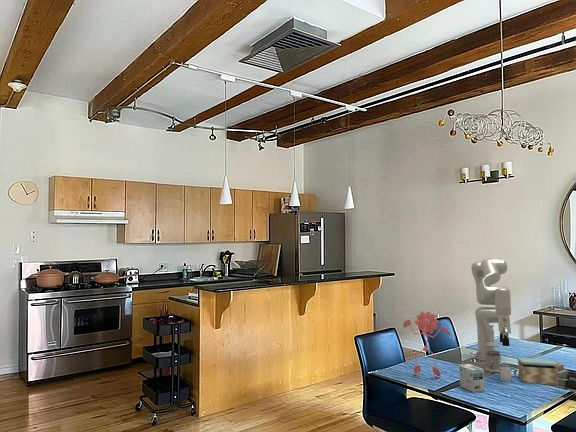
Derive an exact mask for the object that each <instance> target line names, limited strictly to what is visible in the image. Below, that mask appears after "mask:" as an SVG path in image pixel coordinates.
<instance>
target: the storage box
mask: <svg viewBox="0 0 576 432" xmlns="http://www.w3.org/2000/svg"><path fill="white" fill-rule="evenodd" d="M517 368H518V376H519V378H520V380H521V381H522V383H524V384H526V383H527V384H538V385H552V386H559V374H558V369H557V368H556V367H555V366H546V365H531V364H522V363H521V362H520V361H519V360H518V359H517Z"/></svg>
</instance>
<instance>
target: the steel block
mask: <svg viewBox="0 0 576 432" xmlns="http://www.w3.org/2000/svg"><path fill="white" fill-rule="evenodd" d="M499 371H500V372H499V379H500V381H501V382H502V381H503V382H512V369H511V367H509V366H501V367H499Z"/></svg>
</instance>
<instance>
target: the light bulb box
mask: <svg viewBox="0 0 576 432" xmlns="http://www.w3.org/2000/svg"><path fill="white" fill-rule="evenodd" d="M458 367H459V386H460V387H462V388H463V389H466V390H468V391H470V392H472V393H479V392H484V391H486V390H485V369H484V368H482V367H478V366H475V365H474V364H472V363H466V364H459V366H458Z"/></svg>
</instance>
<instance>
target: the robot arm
mask: <svg viewBox="0 0 576 432" xmlns="http://www.w3.org/2000/svg"><path fill="white" fill-rule="evenodd" d="M507 271H508V263H507V261H506V260H505V259H503V258H485V259H483V260H481V261H476V262H473V263H472V264H471V273H472V276H473V279H474V282H475V293H476V295H475V296H476V301H477V303H478V304H479V305H483V306H480V307H479V306H478V307H477V308H476V309H475V311H474V315H475V322H476V329H477V330H476V331H477V333H476V334H477V335H476V336H477V350H475V351H473V350H470V351H469V353H470V355H474V356H475V358H476V359H477V360H480V361H484V362H486V361H487V360H486V353H487V352H486V351H488V349H489V350H491V349H492V351H496V350H495V347H488V346H486V345H485V344H486V343H488V342H495V331H494V327H490V326H491V325H490V324H495V323H496V324H497V325H498V331H499V342H500V343H501V344H502V346H503V347H510V337H509V335H511V334H512V329H511V319H510V316H511V315H512V305H511V302H512V301H511V290H510V289H509V288H508V287H506V286H498V285H497V286H496V285H495V284H497V283H499V282H500V280H501V276H502V275H504V274H506V272H507ZM491 285H492V286H491ZM493 285H495V286H493ZM484 305H485V306H484ZM492 306H493V307H492ZM492 329H493V341H492ZM491 358H492V357H491ZM490 360H492V359H490Z"/></svg>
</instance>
